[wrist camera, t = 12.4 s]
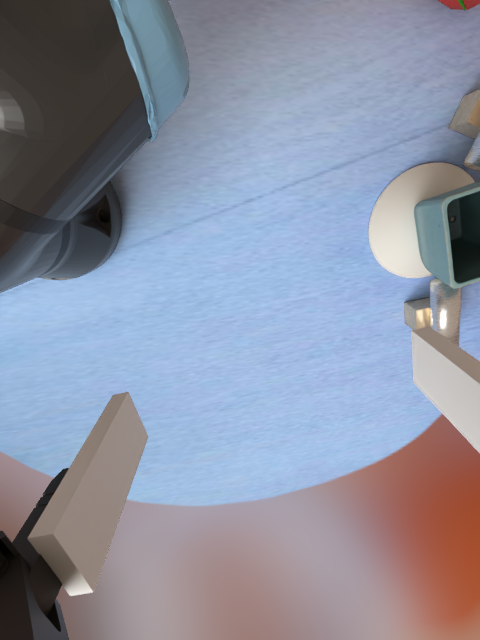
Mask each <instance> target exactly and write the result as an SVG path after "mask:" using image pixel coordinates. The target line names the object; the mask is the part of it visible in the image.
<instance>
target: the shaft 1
mask: <svg viewBox="0 0 480 640" xmlns="http://www.w3.org/2000/svg"><path fill="white" fill-rule="evenodd" d="M461 290H462V287H460V288H456V289H453V288H452V287H450V286H449V285H447V284H446V283H444V282H443V281H441V280H440V279H434V280H432V281H430V297H429V298H424V299H419V300H414V301H409V302H404V316H405V324H406V325H407V326H409V327H410V328H411V329H413V330H416V329H421V328H425V327H431V328H432V329H433V330H435V331H436V332H438V333H439V334H441V335H442V336H444V337H445V338H446V339H448V340H449V341H451V342H452V343H454V344H455V345H457V346H458V347H459V336H460V313H461Z"/></svg>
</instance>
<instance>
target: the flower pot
mask: <svg viewBox="0 0 480 640" xmlns="http://www.w3.org/2000/svg"><path fill="white" fill-rule="evenodd" d="M452 217H454V218H455V219H454V221H451V218H452ZM414 218H415V225H416V232H417V239H418V247H419V253H420V257H421V260H422V263H423V265H424V266H425V268H426V269H427V270H428V271H429V272H430V273H431V274H433V275H434V276H435V277H437V278H438V279H440V280H441V281H443V282H444V283H446V284H447V285H449V286H450V287H452V288H453V289H456V288H460V287H463V286H466V285H469V284H472V283H475V282H478V281H480V181H477V182H474V183H471V184H469V185H466V186H463V187H460V188H457V189H454V190H452V191H449V192H446V193H443V194H440V195H437V196H434V197H431V198H428V199H425V200H423V201H420V202H419V203H417V204H416V206H415V208H414Z"/></svg>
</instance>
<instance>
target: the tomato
mask: <svg viewBox="0 0 480 640" xmlns="http://www.w3.org/2000/svg"><path fill="white" fill-rule="evenodd" d="M438 1H439V2H441V3H442V4H444V5H446V6H447V7H449V8H450V9H464V10H466V9H470V8H472V7H474V6H476V5H478V4H480V0H438Z"/></svg>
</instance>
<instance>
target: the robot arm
mask: <svg viewBox="0 0 480 640" xmlns="http://www.w3.org/2000/svg"><path fill="white" fill-rule="evenodd" d="M189 78H190V77H189V62H188V57H187V53H186V49H185V46H184V42H183V39H182V36H181V34H180V31H179V28H178V25H177V23H176V20H175V17H174V15H173V12H172V10H171V7H170V5H169V3H168V0H0V293H1V292H4V291H6V290H9V289H11V288H13V287H16V286H18V285H20V284H23V283H25V282H27V281H30V280H32V279H34V278H43V279H50V280H68V279H73V278H77V277H80V276H83V275H85V274H87V273H89V272H91V271H93V270H95V269H97V268H98V267H100V266H101V265H102V264H103V263H104V262H105V261H106V260H107V259H108V258H109V257H110V256H111V254H112V253H113V251H114V249H115V247H116V245H117V243H118V240H119V236H120V231H121V212H120V206H119V202H118V199H117V196H116V193H115V191H114V188H113V186H112V184H111V182H110V181H109V180H110V179H111V178H112V177H113V176H114V175H115V174H116V173H117V172H118V171H119V170H120V169H121V168H122V167H123V165H124V164H125V163H126V162H127V161H128V160H129V159H130V158H131V157H132V156H133V155H134V154H135V153H136V152H137V151H138V150H139V149H140V148H141V147H142V146H143V145H144V144H145V143H146V142H147V141H150V142H152V141H153V140H154V139H155V138H156V136H157V133H158V129H159V128H160V127H161V126H162V125H163V124H164V122H165V121H166V120H167V119H168V118H169V117H170V116H171V114H172V113H173V112H174V111H175V110H176V109H177V107H178V106H179V105H180V104H181V103H182V101H183V100H184V98H185V96H186V94H187V91H188V86H189ZM412 354H413V382H414V384H415V385H416V386H417V387H418V388H419V389H420V390H421V391H422V392H423V393H424V394H425V395H426V396H427V397H428V398H429V400H430V401H431V402H432V403H433V404H434V405H435V406H436V407H437V408H438V409H439V410H440V411H441V412H442V413H443V414H444V416H445V417H446V418H447V419H448V420H449V421H450V422H451V423H452V424H453V425H454V426H455V427H456V428H457V429H458V430H459V432H460V433H461V434H462V435H463V436H464V437H465V438H466V439H467V440H468V441H469V442H470V443H471V444H472V445H473V447H475V449H476V450H477V451H478V452H479V453H480V361H478V360H477V359H475V358H474V357H472V356H471V355H470V354H468V353H467V352H465V351H464V350H462V349H461V348H459V347H458V346H457V345H455V344H454V343H452V342H451V341H449V340H448V339H446V338H445V337H444V336H442V335H441V334H439V333H438V332H436V331H435V330H433V329H432V328H431V327H425V328H421V329H416V330H412ZM147 439H148V435H147V433H146V430H145V428H144V426H143V424H142V421H141V419H140V417H139V415H138V412H137V410H136V408H135V406H134V403H133V401H132V399H131V397H130V394H129V392H125V393H121V394H116V395H113V396H112V398H111V399H110V401H109V403H108V404H107V406H106V408H105V409H104V411H103V413H102V414H101V416H100V418H99V419H98V421H97V423H96V424H95V426H94V428H93V429H92V431H91V433H90V434H89V436H88V438H87V439H86V441H85V443H84V444H83V446H82V448H81V449H80V451H79V453H78V454H77V456H76V458H75V459H74V461H73V463H72V464H71V466H70V468H66V469H63V470H62V471H61V472H60V473H59V474H58V475H57V476H56V477H55V478H54V479H53V480H52V481H51V483H50V484H49V486H48V487H47V489H46V490H45V492H44V493H43V497H41V498H40V500H39V501H38V503H37V505H36V508H34V509H33V511H32V512H31V514H30V516H29V517H28V519H27V520H26V522H25V524H24V525H23V527H22V528H21V530H20V531H19V533H18V535H17V536H16V538H15V539H14V541H13V542H11V541H10V540H9V538H8V537H7V536H6V534H5V533H4V532H3V531H0V640H69V637H68V634H67V630H66V626H65V622H64V618H63V614H62V610H61V606H60V604H59V603H58V601H57V600H56V597H57V595H58V593H59V590H60V588H61V586H63V587H64V588H65V590H66V591H67V592H68V594H69V595H70V596H74V595H80V594H86V593H91V592H94V589H95V587H96V584H97V581H98V578H99V575H100V573H101V570H102V567H103V564H104V561H105V558H106V555H107V553H108V550H109V547H110V544H111V541H112V538H113V536H114V533H115V530H116V527H117V524H118V521H119V519H120V516H121V513H122V510H123V507H124V504H125V502H126V499H127V496H128V493H129V490H130V487H131V484H132V482H133V479H134V476H135V473H136V470H137V467H138V465H139V462H140V459H141V456H142V453H143V450H144V448H145V445H146V442H147Z"/></svg>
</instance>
